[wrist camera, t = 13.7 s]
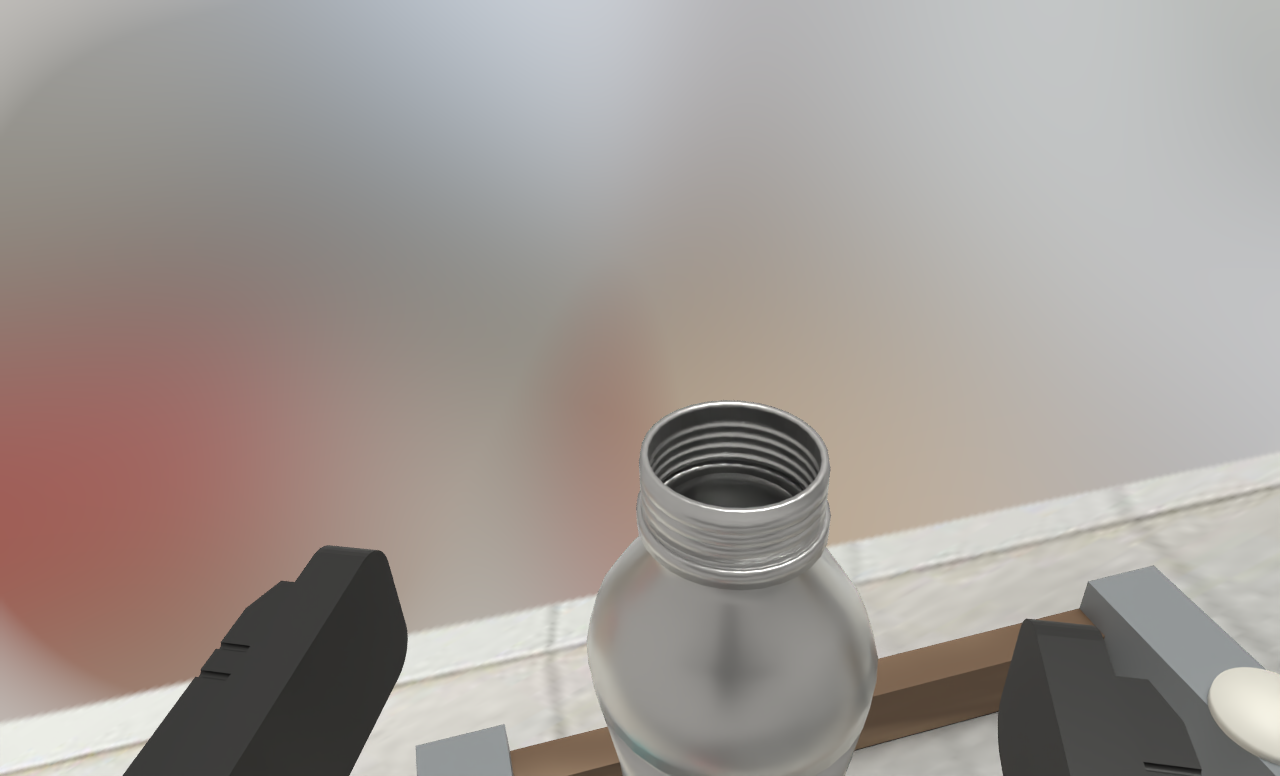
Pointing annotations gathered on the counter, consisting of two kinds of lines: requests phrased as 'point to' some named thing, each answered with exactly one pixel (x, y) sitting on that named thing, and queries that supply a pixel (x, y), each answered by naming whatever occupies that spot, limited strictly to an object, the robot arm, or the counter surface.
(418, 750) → the grey end board
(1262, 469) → the counter surface
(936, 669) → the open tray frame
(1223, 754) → the grey beam
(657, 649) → the plastic bottle
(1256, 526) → the counter surface
